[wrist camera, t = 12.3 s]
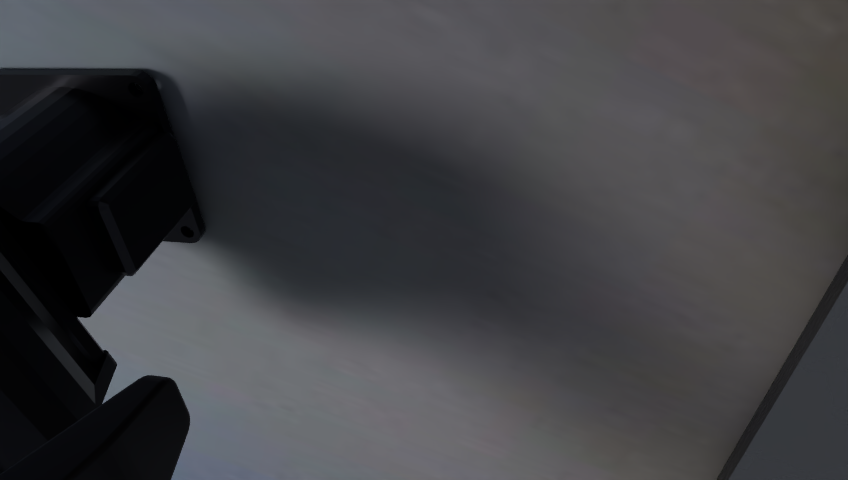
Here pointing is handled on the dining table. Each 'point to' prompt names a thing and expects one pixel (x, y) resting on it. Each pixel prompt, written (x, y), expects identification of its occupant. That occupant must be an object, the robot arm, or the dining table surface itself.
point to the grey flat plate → (804, 404)
